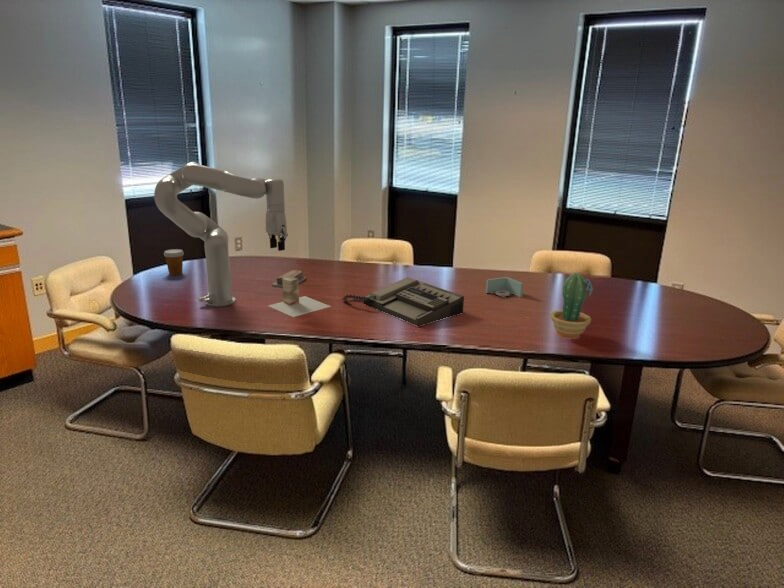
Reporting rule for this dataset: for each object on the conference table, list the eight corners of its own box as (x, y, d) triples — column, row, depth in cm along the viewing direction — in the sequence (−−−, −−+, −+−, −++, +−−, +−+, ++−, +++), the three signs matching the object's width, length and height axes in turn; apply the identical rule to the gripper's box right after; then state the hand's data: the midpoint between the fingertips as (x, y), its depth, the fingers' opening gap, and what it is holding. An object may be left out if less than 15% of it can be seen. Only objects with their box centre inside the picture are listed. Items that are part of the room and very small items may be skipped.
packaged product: (289, 268, 287) (306, 270, 284) (289, 277, 288) (306, 279, 285) (271, 277, 270) (289, 279, 267) (271, 287, 272) (290, 289, 269)
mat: (293, 318, 230) (293, 317, 230) (267, 306, 243) (267, 305, 243) (331, 307, 244) (331, 306, 244) (304, 297, 257) (304, 296, 256)
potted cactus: (572, 346, 209) (580, 282, 201) (539, 333, 221) (546, 272, 213) (597, 337, 217) (606, 276, 210) (564, 325, 229) (571, 266, 221)
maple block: (289, 305, 244) (288, 281, 241) (283, 302, 247) (282, 278, 244) (299, 302, 247) (298, 279, 244) (292, 300, 251) (291, 276, 247)
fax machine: (336, 302, 252) (336, 282, 249) (394, 289, 273) (394, 270, 270) (403, 332, 219) (404, 310, 216) (462, 314, 241) (464, 293, 238)
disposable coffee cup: (166, 271, 291) (164, 249, 288) (185, 270, 294) (183, 248, 290) (165, 276, 283) (162, 253, 279) (185, 275, 285) (183, 252, 282)
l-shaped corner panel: (485, 294, 268) (486, 279, 266) (505, 291, 273) (506, 276, 271) (501, 302, 258) (502, 286, 256) (521, 298, 263) (523, 283, 261)
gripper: (257, 206, 244) (259, 246, 250) (279, 211, 232) (281, 254, 238) (272, 204, 249) (273, 244, 255) (294, 209, 237) (296, 251, 243)
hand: (277, 248), depth 246 cm, fingers open, 5 cm apart
